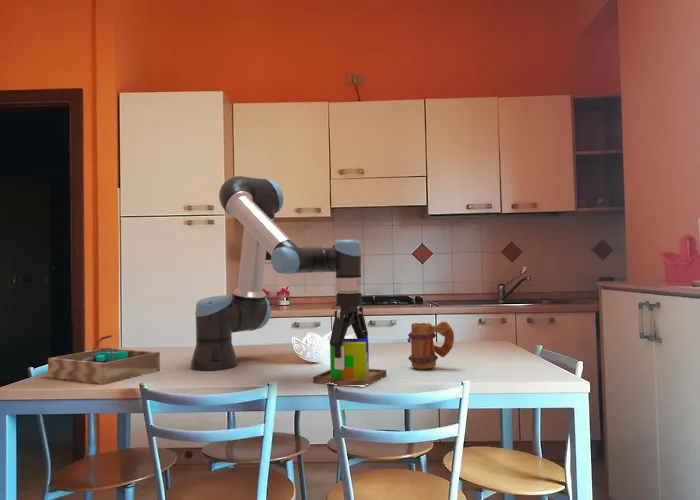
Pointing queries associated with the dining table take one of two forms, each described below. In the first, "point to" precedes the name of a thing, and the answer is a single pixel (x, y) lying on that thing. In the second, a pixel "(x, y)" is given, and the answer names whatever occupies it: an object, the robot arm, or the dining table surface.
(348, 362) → the puzzle toy
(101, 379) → the open wooden box
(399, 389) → the dining table surface
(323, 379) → the square wooden tray
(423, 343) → the mug
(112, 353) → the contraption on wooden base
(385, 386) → the dining table surface
